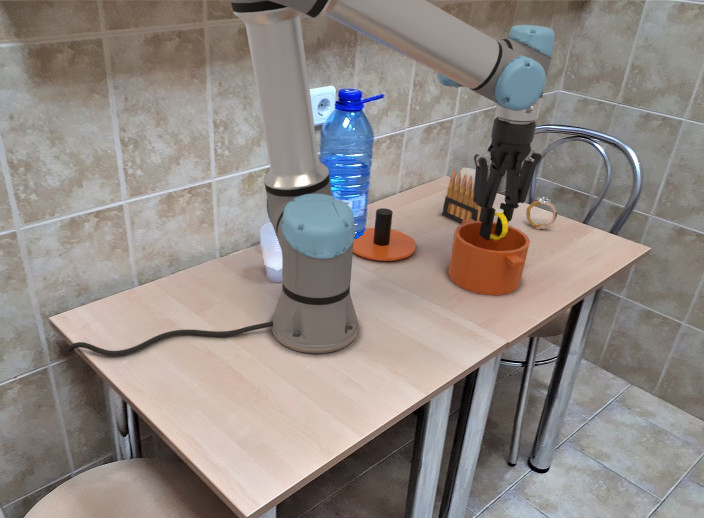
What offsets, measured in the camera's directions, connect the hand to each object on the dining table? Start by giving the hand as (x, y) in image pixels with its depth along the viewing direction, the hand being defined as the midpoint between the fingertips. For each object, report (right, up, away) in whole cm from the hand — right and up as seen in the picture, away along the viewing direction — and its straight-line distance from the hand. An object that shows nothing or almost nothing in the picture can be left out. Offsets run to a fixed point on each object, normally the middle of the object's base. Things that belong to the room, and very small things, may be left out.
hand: (492, 236), depth 123 cm
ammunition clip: (0, +7, +29) cm, 30 cm away
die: (+5, +14, +42) cm, 45 cm away
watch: (0, 0, 0) cm, 1 cm away
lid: (-21, 0, +15) cm, 26 cm away
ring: (+19, +5, +27) cm, 34 cm away
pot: (0, -8, +5) cm, 9 cm away
